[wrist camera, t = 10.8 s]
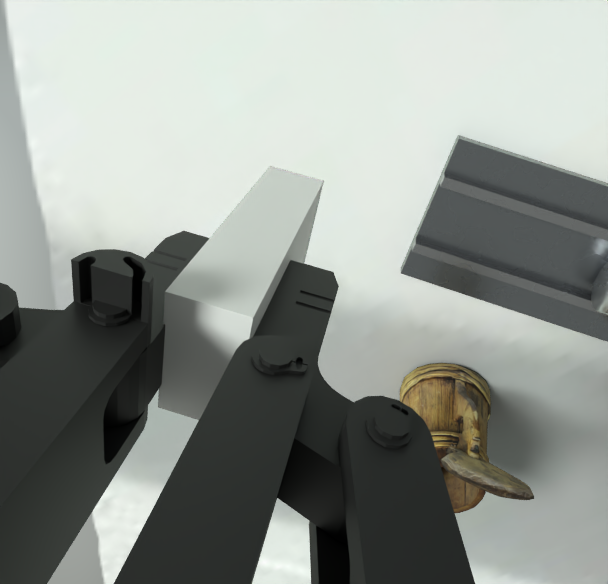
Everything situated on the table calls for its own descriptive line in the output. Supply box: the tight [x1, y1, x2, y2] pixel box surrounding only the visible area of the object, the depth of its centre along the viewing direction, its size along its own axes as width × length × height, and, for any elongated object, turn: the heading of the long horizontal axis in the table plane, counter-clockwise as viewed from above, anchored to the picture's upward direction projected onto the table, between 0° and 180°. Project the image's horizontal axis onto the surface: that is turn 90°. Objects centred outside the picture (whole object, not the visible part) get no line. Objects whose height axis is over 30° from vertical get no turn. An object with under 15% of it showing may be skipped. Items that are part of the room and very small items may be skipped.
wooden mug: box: [400, 363, 534, 513], centre depth 42 cm, size 9×14×18 cm, turn 166°
